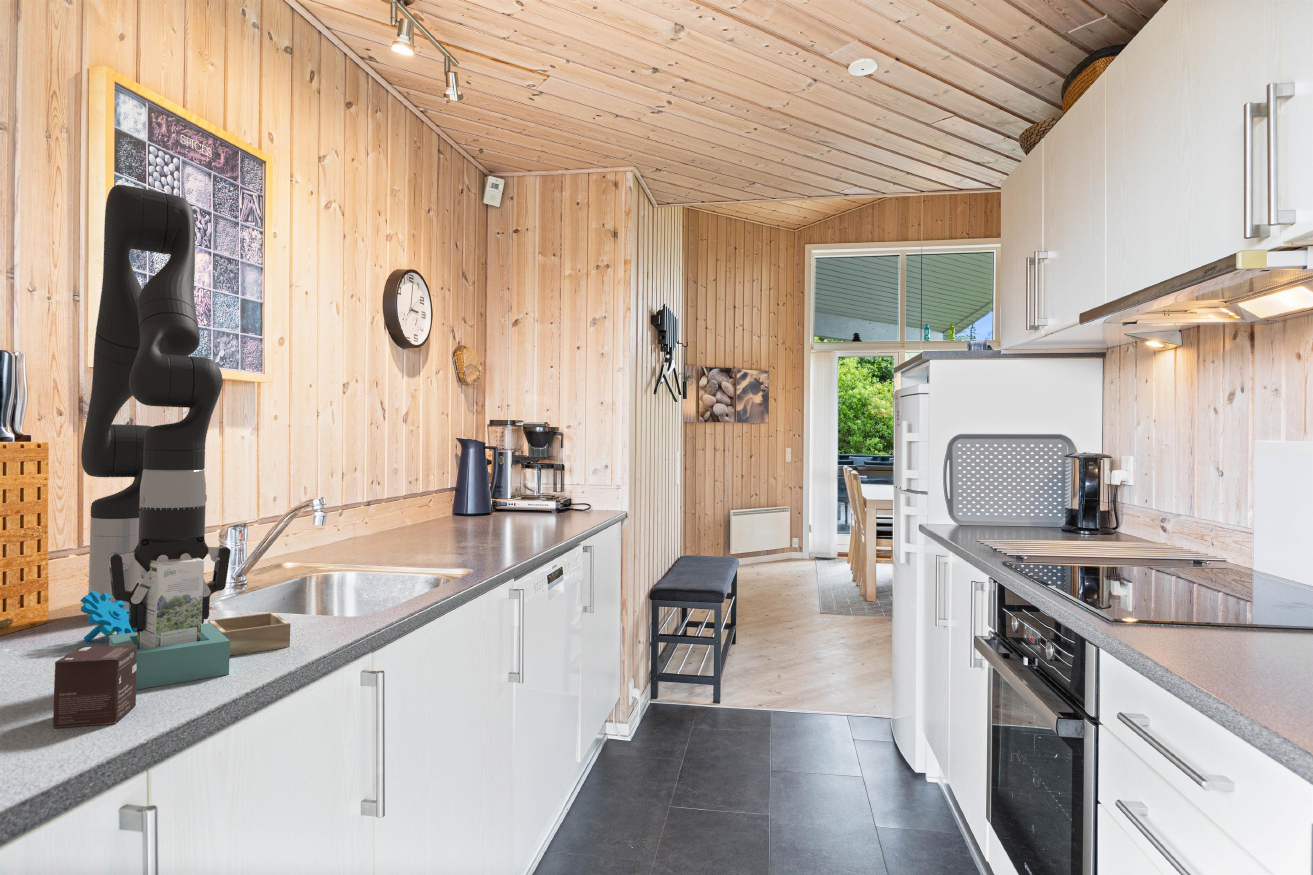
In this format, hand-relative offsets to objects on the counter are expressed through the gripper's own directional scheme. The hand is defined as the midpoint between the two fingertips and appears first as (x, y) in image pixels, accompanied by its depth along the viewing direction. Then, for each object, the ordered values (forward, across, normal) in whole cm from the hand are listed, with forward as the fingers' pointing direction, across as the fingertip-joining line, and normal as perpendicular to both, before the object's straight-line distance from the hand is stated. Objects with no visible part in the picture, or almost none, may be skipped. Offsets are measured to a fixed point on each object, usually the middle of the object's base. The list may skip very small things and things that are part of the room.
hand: (169, 626), depth 101 cm
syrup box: (+5, 0, 0) cm, 5 cm away
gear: (+6, +4, -22) cm, 24 cm away
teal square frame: (+6, 0, 0) cm, 6 cm away
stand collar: (+6, -12, -8) cm, 15 cm away
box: (+6, +9, +14) cm, 18 cm away
